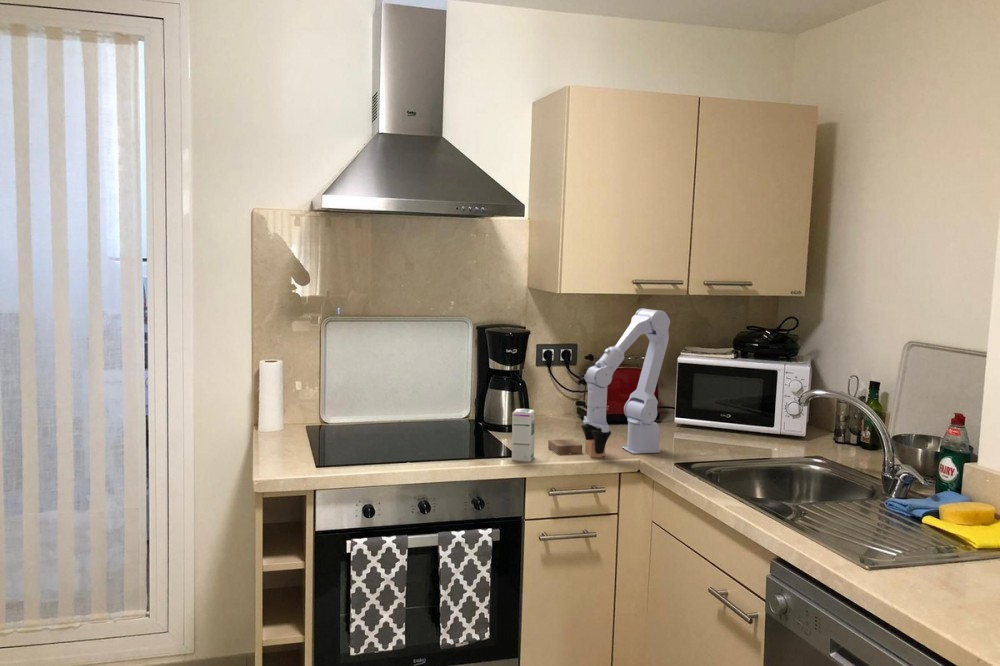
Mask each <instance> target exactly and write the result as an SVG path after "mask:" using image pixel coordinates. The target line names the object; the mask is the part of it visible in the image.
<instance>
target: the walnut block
mask: <svg viewBox="0 0 1000 666" xmlns="http://www.w3.org/2000/svg"><path fill="white" fill-rule="evenodd" d="M547 441H548V442H547V443H548V446H547V449H548V448H549V449H548V450H550V449H551V450H552V451H551V450H550V451H551V452H553V451H554V452H555V453H556V455H557V454H563V455H570V454H569V453H582V454H583V444H581V443H580V442H578V441H576V440H575V439H573V438H567V439H548V440H547ZM554 452H553V453H554ZM555 453H554V454H555Z"/></svg>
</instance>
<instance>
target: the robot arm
mask: <svg viewBox="0 0 1000 666" xmlns="http://www.w3.org/2000/svg"><path fill="white" fill-rule="evenodd" d="M670 324H671V319H670V318H669V315H668V314H667V313H666V312H665V311H664V310H658V309H648V308H645V307H644V308H643V307H642V308H639V309H638V310H637V311H636V312H635V314H634V315H633V316H632V317H631V320H630V324H629V325H628V326H627V328H626V330H625V331H624V333H623V334H622V335H621V337H620V338H619V340H618V341H617V343H616V344H615V345H613V346H608V348H606V349H605V350H604V351H603V352H604V353H603V354H602V356H600V358H599V359H598V360H597V361H596V362H595V363H594V364H595V365H592V366H590V367H589V368H588V369H586V373H585V374H584V381H585V382H586V385H587V386H586V387H587V403H586V404H587V405H586V406H587V408H586V410H587V411H586V415H584V416H583V420H582V423H583V424H582V425H581V429H582V431H583V433H584V437H585V441H586V440H592V439H594V442H595V452H596V454H603V452H604V448H605V449H606V444H607V441H608V439H609V438H610V436H611V435H612V431H611V430H610V425H609V424H608V422H607V403H608V402H607V400H608V386H609V385H610V384H611V383H612V380H613V375H614V372H616V370H617V369H618V368H619V366H620V365H621V364H622V362H623V361H624V360H625V353H626V351H628V350H629V349H630V347H631V346H632V345H633V344H634V343H635V341H636V340H637V339H638V338H639V337H641V335H645V336H646V337H647V339H648V341H649V343H648V346H647V350H646V353H645V357H644V359H643V360H644V361H643V364H642V368H641V372H640V374H639V380H638V383H637V386H636V389H635V390H634V391H633V392H631V393H630V394H629V398H628V400H627V401H626V402H625V404H624V406H623V414H624V416H625V417H626V419H627V441H626V442H627V443H626V445H624V446H622V448H621V449H623V448H624V450H626V451H627V452H629V453H630V454H633V455H635V454H654V453H655V454H656V453H661V450H660V438H661V429H660V426H659V424H658V423H657V422H655V420H656V419H657V416H658V404H659V401H658V399H657V397H656V396H655V392H656V388H657V384H658V380H659V377H660V373H661V369H662V366H663V362H664V359H665V355H666V351H667V348H668V343H669V339H670V333H669V328H670Z"/></svg>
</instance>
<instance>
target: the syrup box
mask: <svg viewBox="0 0 1000 666" xmlns="http://www.w3.org/2000/svg"><path fill="white" fill-rule="evenodd" d="M511 414H512V415H511V416H512V417H511V419H512V420H511V422H512V423H511V424H512V425H511V427H512V428H511V429H512V430H511V460H512V461H515V462H528V463H529V462H531V461H532V460H533V458H534V457H535V409H532V408H516V409H515V410H514V411H513V412H511Z"/></svg>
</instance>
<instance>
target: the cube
mask: <svg viewBox="0 0 1000 666" xmlns="http://www.w3.org/2000/svg"><path fill="white" fill-rule="evenodd" d="M584 453H586V454H587V455H589V456H590V457H589V456H588V457H589V458H591V457H596V458H603V457H602V456H606V447H605V448H604V452H603V454H596V452H595V442H594V439H592V440H586V439H585V449H584ZM586 454H585V455H586ZM587 455H586V456H587Z"/></svg>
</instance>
